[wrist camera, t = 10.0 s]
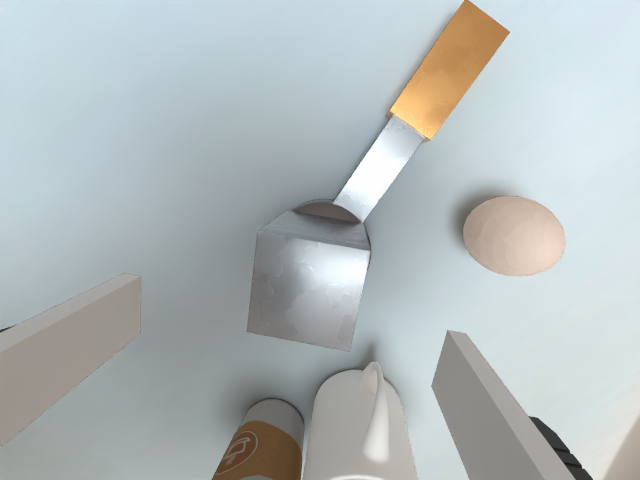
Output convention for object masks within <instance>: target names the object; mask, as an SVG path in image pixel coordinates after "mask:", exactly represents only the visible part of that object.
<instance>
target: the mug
mask: <svg viewBox="0 0 640 480" xmlns="http://www.w3.org/2000/svg"><path fill="white" fill-rule="evenodd" d="M303 480H418V476H417V471H416V467H415V462H414V458H413V454H412V449H411V445H410V440H409V436H408V431H407V427H406V422H405V418H404V414H403V409H402V405H401V402H400V399H399V397H398V395H397V393H396V391H395V390H394V388H393V387H392V386H391V385H390V384H389V383H388V382H387V381H386V380H384V379H383V374H382V370H381V367H380V364H379V363H377V362H371V363H370V364H369V365H368V366H367V367H366V368H365V369H364V371H363V370H347V371H343V372H340V373H337V374H335V375H333V376H332V377H330V378H329V379H328V380H326V381H325V382H324V383H323V384H322V386H321V387H320V388H319V390H318V392H317V395H316V397H315V401H314V406H313V412H312V419H311V426H310V433H309V440H308V447H307V454H306V461H305V467H304V474H303Z"/></svg>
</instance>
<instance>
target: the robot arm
mask: <svg viewBox="0 0 640 480" xmlns="http://www.w3.org/2000/svg"><path fill="white" fill-rule="evenodd" d="M140 332H141V276H136V275H131V274H125V273H123V274H121V275H119V276H117V277H115V278H113V279H111V280H109V281H107V282H105V283H103V284H101V285H98V286H96V287H94V288H92V289H90V290H88V291H86V292H84V293H82V294H80V295H78V296H76V297H74V298H72V299H69V300H67V301H65V302H63V303H61V304H59V305H57V306H55V307H53V308H51V309H49V310H47V311H45V312H43V313H40V314H38V315H36V316H34V317H32V318H30V319H28V320H26V321H24V322H22V323H20V324H18V325H15V326H12V327H9V328H5V329H2V330H0V448H1V447H2V446H3V445H5V444H6V443H7V442H8V441H10V440H11V439H12V438H13V437H14V436H16V435H17V434H18V433H19V432H21V431H22V430H23V429H24V428H25V427H27V426H28V425H29V424H30V423H32V422H33V421H34V420H35V419H36V418H38V417H39V416H40V415H41V414H43V413H44V412H45V411H46V410H47V409H49V408H50V407H51V406H52V405H54V404H55V403H56V402H57V401H58V400H60V399H61V398H62V397H63V396H64V395H66V394H67V393H68V392H69V391H71V390H72V389H73V388H74V387H75V386H77V385H78V384H79V383H80V382H82V381H83V380H84V379H85V378H86V377H88V376H89V375H90V374H91V373H93V372H94V371H95V370H96V369H97V368H99V367H100V366H101V365H102V364H104V363H105V362H106V361H107V360H108V359H110V358H111V357H112V356H113V355H115V354H116V353H117V352H118V351H119V350H121V349H122V348H123V347H124V346H125V345H127V344H128V343H129V342H130V341H132V340H133V339H134V338H135V337H136V336H138V335H139V334H140ZM431 387H432V389H433V391H434V394H435V396H436V399H437V401H438V404H439V406H440V409H441V411H442V413H443V416H444V418H445V421H446V423H447V426H448V428H449V430H450V433H451V435H452V438H453V440H454V443H455V445H456V448H457V450H458V452H459V455H460V457H461V460H462V462H463V465H464V467H465V470H466V472H467V474H468V477H469V479H470V480H593V479H592V478H591V476H590V475H589V474H588V473H587V471H586V470H585V469H582V465H581V464H580V463H579V461H578V460H577V459H576V458H575V457H574V455H573V454H570V450H569V449H568V448H567V447H566V445H565V444H564V443H563V442H562V440H561V439H560V438H559V437H558V435H557V434H556V433H555V432H554V431H552V430H551V429H550V428H549V427H548V426H547V425H545V424H544V423H543V422H542V421H541V420H540V419H538V418H536V417H530V416H528V415H527V414H526V413H525V411H524V410H523V409H522V407H521V406H520V405H519V403H518V402H517V401H516V399H515V398H514V397H513V395H512V394H511V393H510V391H509V390H508V389H507V387H506V386H505V385H504V383H503V382H502V381H501V379H500V378H499V377H498V375H497V374H496V373H495V371H494V370H493V369H492V367H491V366H490V365H489V363H488V362H487V361H486V359H485V358H484V357H483V355H482V354H481V353H480V351H479V350H478V349H477V347H476V346H475V345H474V343H473V342H472V341H471V339H470V338H469V337H468V335H467V334H466V333H461V332H456V331H450V330H447V333H446V337H445V340H444V344H443V347H442V351H441V354H440V358H439V361H438V365H437V368H436V372H435V375H434V379H433V382H432V385H431Z"/></svg>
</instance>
